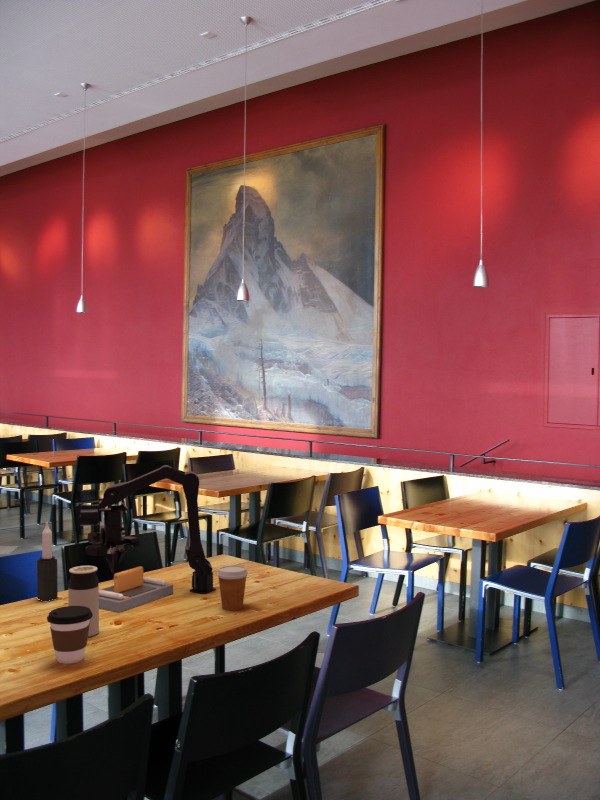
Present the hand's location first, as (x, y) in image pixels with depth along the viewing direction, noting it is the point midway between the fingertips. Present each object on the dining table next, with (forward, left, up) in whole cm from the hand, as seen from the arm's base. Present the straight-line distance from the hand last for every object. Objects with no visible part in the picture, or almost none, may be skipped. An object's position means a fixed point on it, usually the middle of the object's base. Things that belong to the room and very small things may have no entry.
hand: (113, 572), depth 241 cm
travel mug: (-21, +31, -8) cm, 38 cm away
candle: (+15, +14, -8) cm, 22 cm away
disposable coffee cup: (-41, -10, -8) cm, 43 cm away
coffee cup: (-33, +46, -8) cm, 57 cm away
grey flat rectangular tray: (-7, 0, -8) cm, 10 cm away
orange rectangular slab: (-7, 0, -5) cm, 8 cm away
